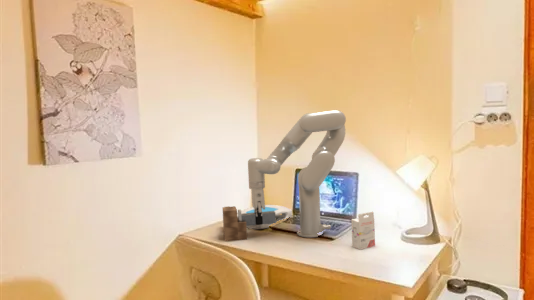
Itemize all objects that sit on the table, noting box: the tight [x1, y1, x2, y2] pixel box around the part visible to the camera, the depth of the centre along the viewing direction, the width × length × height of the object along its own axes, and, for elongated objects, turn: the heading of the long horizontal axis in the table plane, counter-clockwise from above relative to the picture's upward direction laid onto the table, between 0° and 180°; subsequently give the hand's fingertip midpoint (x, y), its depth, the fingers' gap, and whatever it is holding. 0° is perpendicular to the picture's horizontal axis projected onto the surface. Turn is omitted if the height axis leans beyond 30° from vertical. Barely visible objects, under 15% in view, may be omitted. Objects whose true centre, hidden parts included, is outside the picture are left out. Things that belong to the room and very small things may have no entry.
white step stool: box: [237, 204, 293, 230], centre depth 204 cm, size 21×28×6 cm
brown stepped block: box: [222, 206, 248, 242], centre depth 184 cm, size 10×22×14 cm, turn 10°
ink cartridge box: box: [350, 211, 376, 250], centre depth 159 cm, size 9×5×15 cm, turn 117°
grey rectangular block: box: [237, 209, 277, 226], centre depth 179 cm, size 17×4×7 cm, turn 100°
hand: (258, 222), depth 179 cm, fingers closed on grey rectangular block, 3 cm apart
